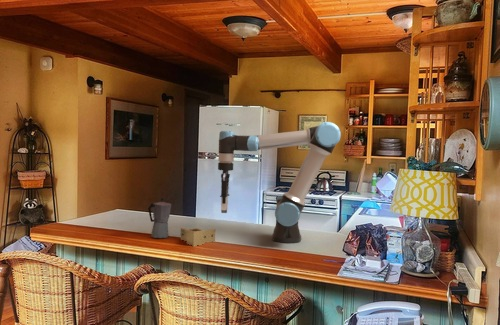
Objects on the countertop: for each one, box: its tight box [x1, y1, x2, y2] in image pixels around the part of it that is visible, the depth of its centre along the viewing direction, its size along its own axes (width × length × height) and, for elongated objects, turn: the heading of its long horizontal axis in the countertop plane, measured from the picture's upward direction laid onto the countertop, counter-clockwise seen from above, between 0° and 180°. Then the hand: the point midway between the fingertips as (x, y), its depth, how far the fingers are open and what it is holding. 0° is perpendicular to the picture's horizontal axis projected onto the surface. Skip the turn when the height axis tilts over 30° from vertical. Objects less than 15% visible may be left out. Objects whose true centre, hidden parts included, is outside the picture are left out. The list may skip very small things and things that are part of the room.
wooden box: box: [180, 227, 216, 247], centre depth 201 cm, size 15×15×7 cm
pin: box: [220, 185, 229, 214], centre depth 199 cm, size 4×4×13 cm
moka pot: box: [147, 198, 172, 239], centre depth 208 cm, size 10×15×20 cm, turn 149°
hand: (224, 209), depth 200 cm, fingers closed on pin, 3 cm apart
